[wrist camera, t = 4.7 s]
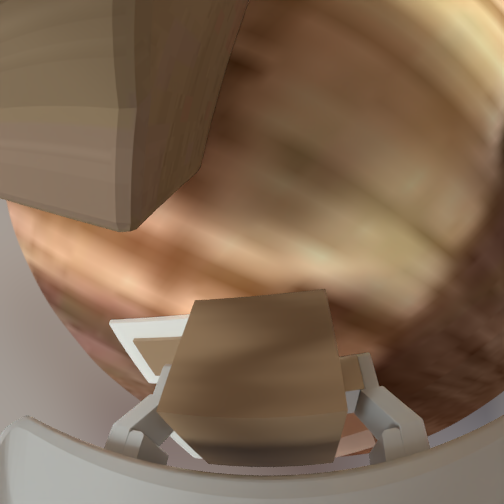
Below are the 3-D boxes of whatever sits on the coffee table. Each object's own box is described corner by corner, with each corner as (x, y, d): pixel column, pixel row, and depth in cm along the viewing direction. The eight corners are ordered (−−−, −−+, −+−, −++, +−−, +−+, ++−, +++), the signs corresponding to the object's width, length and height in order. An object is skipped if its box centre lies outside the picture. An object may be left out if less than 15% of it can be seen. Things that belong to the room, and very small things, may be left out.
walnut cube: (325, 289, 10) (348, 410, 5) (324, 369, 12) (333, 462, 8) (195, 300, 11) (156, 411, 6) (224, 374, 13) (208, 463, 9)
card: (198, 313, 17) (196, 320, 16) (227, 379, 20) (226, 386, 19) (110, 319, 17) (107, 326, 17) (150, 379, 21) (148, 385, 20)
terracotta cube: (357, 378, 20) (370, 428, 15) (366, 402, 22) (376, 445, 17) (301, 395, 21) (305, 446, 16) (317, 417, 23) (322, 460, 18)
